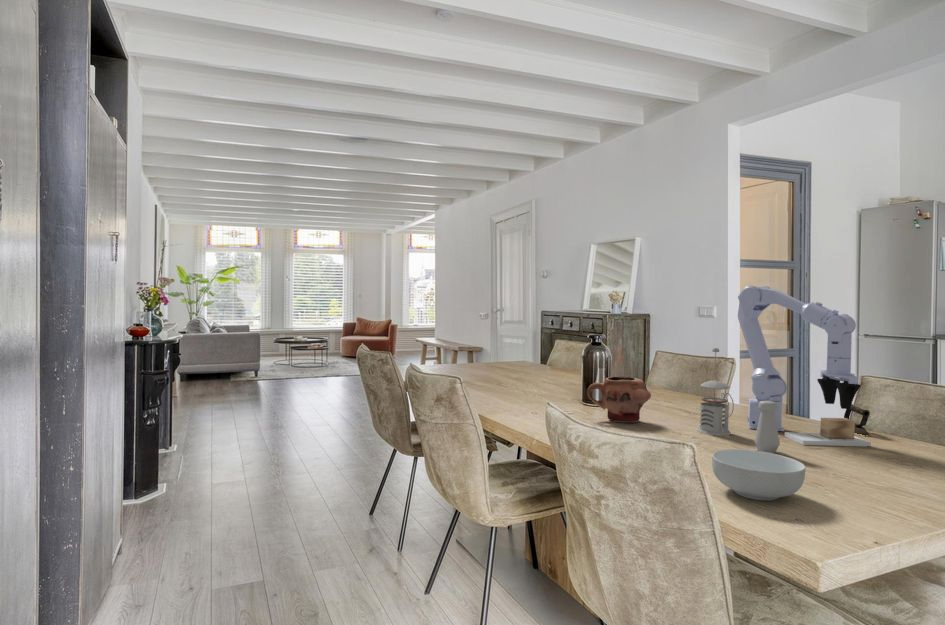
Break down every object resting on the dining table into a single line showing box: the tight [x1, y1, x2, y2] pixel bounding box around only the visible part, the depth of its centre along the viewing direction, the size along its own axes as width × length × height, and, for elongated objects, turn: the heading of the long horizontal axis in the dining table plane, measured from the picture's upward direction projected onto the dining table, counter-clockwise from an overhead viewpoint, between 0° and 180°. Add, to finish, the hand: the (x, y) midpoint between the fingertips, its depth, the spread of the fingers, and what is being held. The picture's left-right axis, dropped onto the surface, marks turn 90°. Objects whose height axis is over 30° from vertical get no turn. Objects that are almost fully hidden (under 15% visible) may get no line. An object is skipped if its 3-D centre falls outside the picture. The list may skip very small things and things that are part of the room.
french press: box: [696, 347, 735, 437], centre depth 172 cm, size 10×12×25 cm
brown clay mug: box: [586, 376, 652, 423], centre depth 188 cm, size 20×12×14 cm, turn 87°
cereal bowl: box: [711, 448, 806, 501], centre depth 117 cm, size 17×17×7 cm
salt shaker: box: [754, 401, 781, 454], centre depth 151 cm, size 6×6×13 cm
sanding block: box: [819, 417, 856, 439], centre depth 163 cm, size 7×4×5 cm, turn 88°
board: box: [784, 431, 872, 447], centre depth 163 cm, size 18×10×1 cm, turn 88°
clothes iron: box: [843, 403, 871, 436], centre depth 176 cm, size 7×11×10 cm, turn 177°
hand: (837, 406), depth 164 cm, fingers open, 7 cm apart
